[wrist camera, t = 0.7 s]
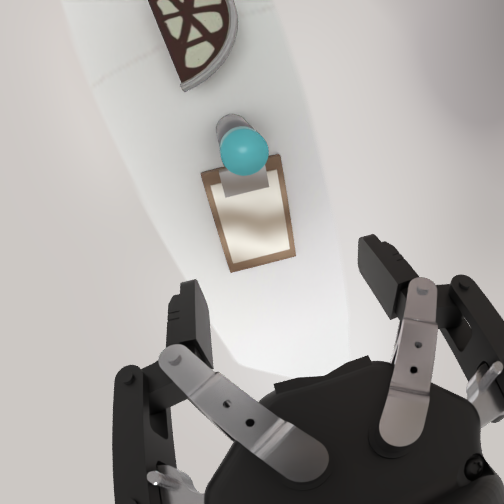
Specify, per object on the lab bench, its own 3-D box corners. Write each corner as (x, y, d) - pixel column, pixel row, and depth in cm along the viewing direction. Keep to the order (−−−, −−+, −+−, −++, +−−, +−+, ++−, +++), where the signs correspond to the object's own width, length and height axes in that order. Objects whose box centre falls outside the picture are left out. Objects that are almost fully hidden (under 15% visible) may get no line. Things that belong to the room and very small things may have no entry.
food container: (245, 69, 26) (263, 65, 18) (189, 89, 27) (182, 93, 18) (208, -24, 19) (210, -62, 11) (151, -4, 20) (130, -35, 11)
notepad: (200, 172, 32) (200, 177, 30) (278, 153, 32) (282, 158, 30) (229, 269, 40) (231, 277, 38) (294, 252, 40) (298, 260, 38)
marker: (212, 118, 29) (216, 136, 20) (244, 110, 29) (263, 125, 20) (219, 147, 31) (227, 180, 22) (250, 140, 31) (272, 169, 22)
